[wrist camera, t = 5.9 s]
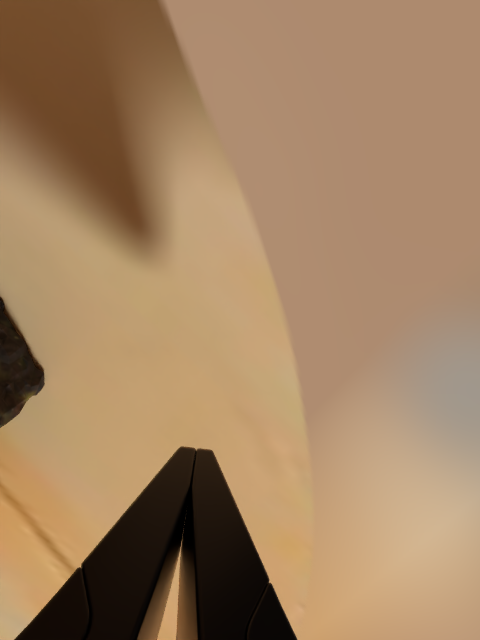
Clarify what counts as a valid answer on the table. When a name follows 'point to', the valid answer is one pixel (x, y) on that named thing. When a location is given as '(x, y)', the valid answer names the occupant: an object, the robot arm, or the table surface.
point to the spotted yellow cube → (15, 372)
